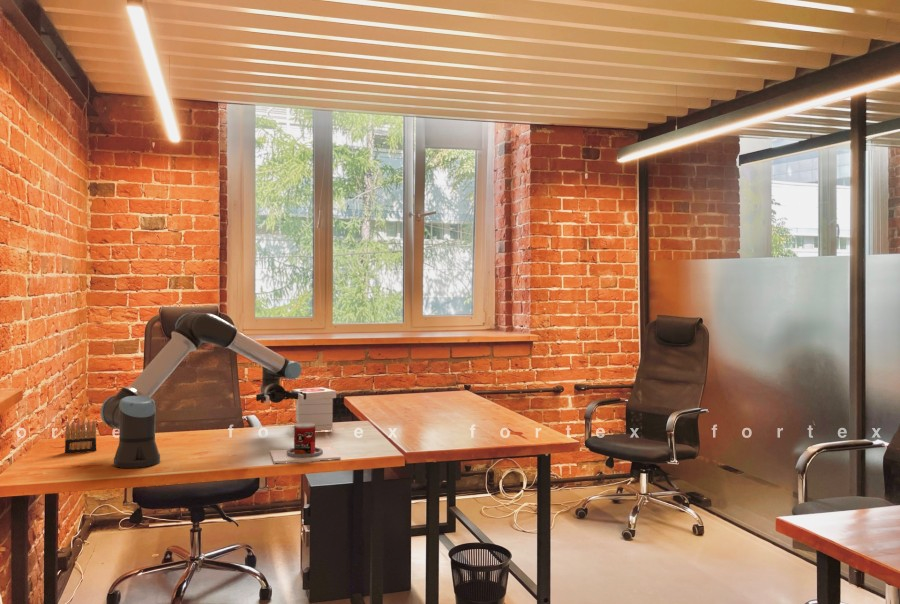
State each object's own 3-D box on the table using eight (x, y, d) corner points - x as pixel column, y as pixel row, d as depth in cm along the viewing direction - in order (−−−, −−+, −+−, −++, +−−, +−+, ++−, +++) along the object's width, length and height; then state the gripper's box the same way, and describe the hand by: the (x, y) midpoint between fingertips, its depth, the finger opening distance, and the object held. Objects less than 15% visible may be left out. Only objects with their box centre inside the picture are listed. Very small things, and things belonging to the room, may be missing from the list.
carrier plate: (274, 464, 246) (274, 458, 246) (270, 453, 263) (270, 447, 263) (340, 459, 254) (340, 453, 254) (332, 449, 271) (332, 443, 271)
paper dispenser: (330, 421, 334) (331, 384, 334) (337, 432, 305) (337, 392, 305) (290, 422, 329) (290, 385, 329) (293, 434, 300) (293, 393, 300)
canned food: (290, 455, 255) (290, 426, 255) (300, 450, 263) (300, 422, 263) (309, 456, 254) (309, 427, 254) (318, 452, 261) (318, 423, 261)
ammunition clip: (96, 450, 265) (96, 419, 265) (96, 451, 264) (96, 420, 264) (64, 452, 261) (65, 421, 260) (64, 453, 259) (64, 422, 259)
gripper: (304, 400, 297) (316, 407, 278) (244, 402, 286) (253, 410, 267) (304, 383, 297) (316, 389, 278) (245, 384, 286) (253, 391, 267)
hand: (285, 399), depth 272 cm, fingers open, 13 cm apart
